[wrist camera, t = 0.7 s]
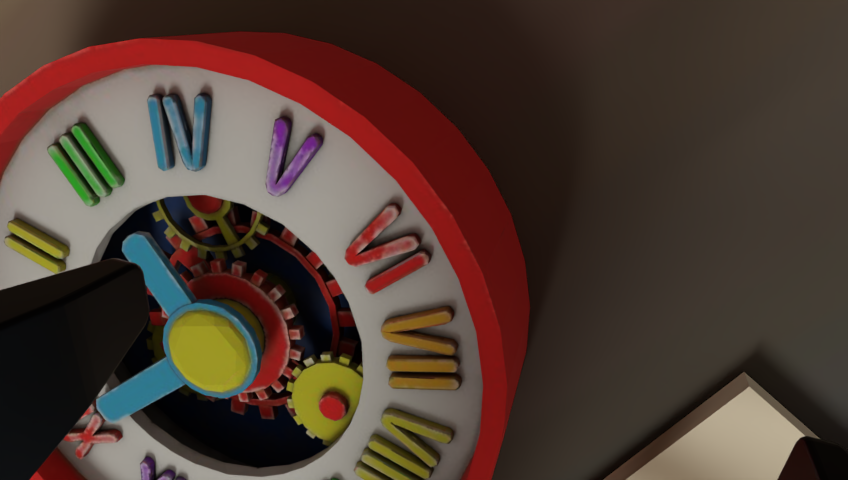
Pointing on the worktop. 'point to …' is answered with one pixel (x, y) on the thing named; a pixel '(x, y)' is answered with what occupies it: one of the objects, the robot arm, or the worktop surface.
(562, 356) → the worktop surface
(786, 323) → the worktop surface
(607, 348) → the worktop surface
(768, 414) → the cleat board
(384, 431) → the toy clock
